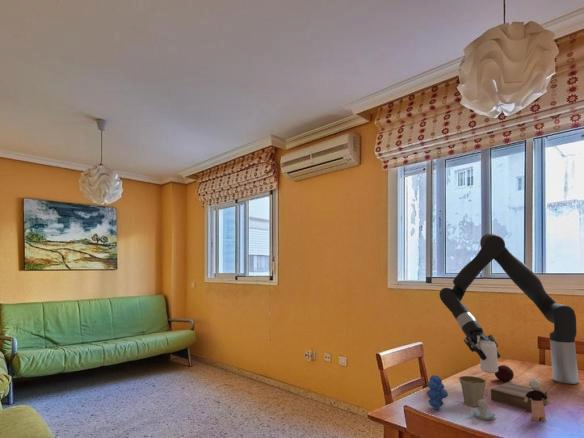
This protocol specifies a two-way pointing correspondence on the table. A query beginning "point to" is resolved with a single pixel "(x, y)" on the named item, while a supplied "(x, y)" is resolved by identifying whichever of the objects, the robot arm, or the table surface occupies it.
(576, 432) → the table surface
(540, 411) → the grandmother figurine
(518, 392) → the walnut block
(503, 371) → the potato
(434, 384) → the grapes
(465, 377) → the flower pot
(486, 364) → the can
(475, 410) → the pacifier
